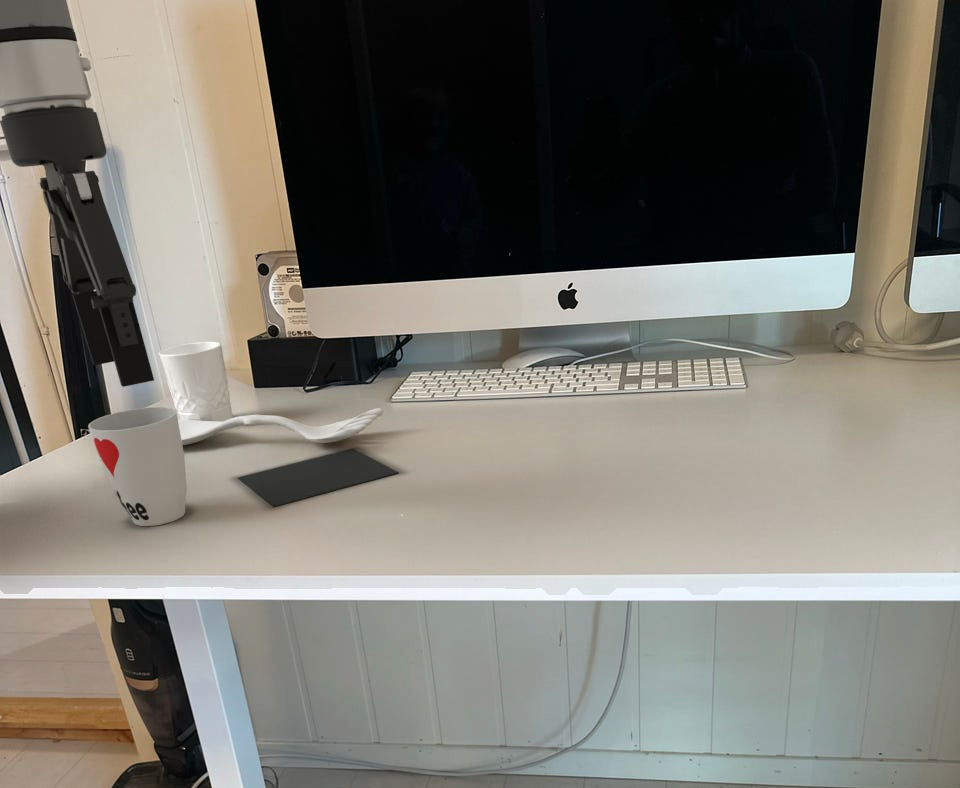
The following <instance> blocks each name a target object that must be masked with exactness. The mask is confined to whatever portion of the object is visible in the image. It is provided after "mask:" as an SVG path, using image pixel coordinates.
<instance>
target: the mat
mask: <svg viewBox="0 0 960 788" xmlns="http://www.w3.org/2000/svg"><path fill="white" fill-rule="evenodd" d="M397 474H399V471H397V470H396V469H393V468H391V467H390V466H388V465H386V464H384V463H382V462H380V461H379V460H377V459H374V458H373V457H371V456H369V455H367V454H365V453H363V452H361V451H359V450H357V449H356V448H349V449H345V450H340V451H337V452H333V453H329V454H325V455H322V456H317V457H313V458H309V459H306V460H305V459H304V460H302V461H298V462H293V463H289V464H286V465H281V466H278V467H274V468H273V467H272V468H271V469H266V470H261V471H257V472H253V473H249V474H246V475H242V476H238V477H237V479H238V480H239V481H241V483H243V484H244V485H245V486H247V487H248V488H249V489H250V490H252V491H253V492H254V493H256V494H257V495H258V496H260V497H261V498H262V499H263V500H265V501H266V502H267V503H268V504H270V505H271V506H273V508H274V507H275V508H276V507H279V506H283V505H286V504H290V503H294V502H297V501H301V500H304V499H308V498H312V497H316V496H320V495H323V494H326V493H330V492H331V493H332V492H334V491H338V490H342V489H345V488H349V487H352V486H356V485H360V484H363V483H368V482H371V481H375V480H378V479H383V478H387V477H389V476H394V475H397Z"/></svg>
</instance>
